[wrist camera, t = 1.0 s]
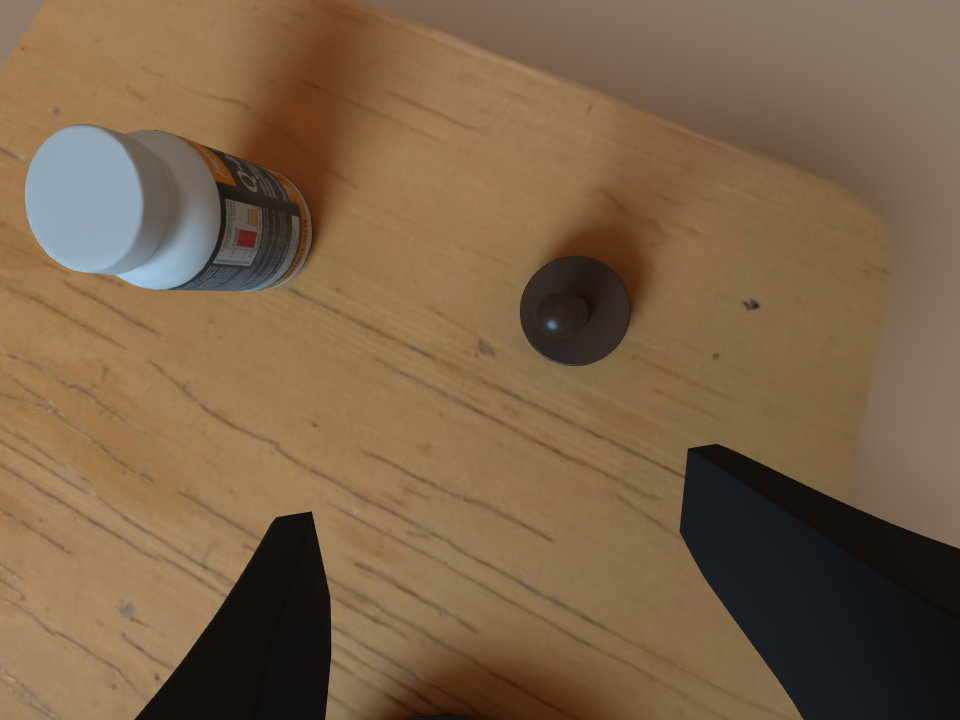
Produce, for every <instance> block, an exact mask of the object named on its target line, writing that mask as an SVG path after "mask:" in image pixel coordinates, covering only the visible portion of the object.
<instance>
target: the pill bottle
mask: <svg viewBox="0 0 960 720" xmlns="http://www.w3.org/2000/svg"><path fill="white" fill-rule="evenodd" d="M25 204H26V212H27V216H28V220H29V224H30V226H31V229H32V232H33V233H34V236H35V237H36V239H37V241H38V242H39V244H40V245H41V246H42V248H43V249H44V250H45V251H46V253H47V254H48V255H49V256H50V257H52V258H53V259H54V260H56V261H57V262H58V263H60V264H61V265H63V266H65V267H67V268H69V269H72V270H76V271H80V272H88V273H99V274H111V275H113V274H115V275H117V276H118V277H120V278H121V279H123V280H125V281H127V282H129V283H131V284H133V285H136V286H139V287H143V288H147V289H152V290H210V291H263V290H269V289H273V288H276V287H278V286H281V285H283V284H284V283H286V282H287V281H289V280H290V279H291V278H292V277H293V276H295V274H296V273H297V272H298V271H299V270H300V269H301V267H302V266H303V264H304V262H305V260H306V257H307V255H308V253H309V250H310V245H311V241H312V227H311V215H310V212H309V209H308V206H307V204H306V202H305V200H304V198H303V196H302V195H301V193H300V192H299V190H298V189H297V188H296V186H295V185H294V184H293V183H292V182H291V181H289V180H288V179H287V178H286V177H284V176H282V175H281V174H279V173H277V172H275V171H273V170H271V169H268V168H265V167H263V166H260V165H257V164H254V163H251V162H248V161H246V160H243V159H240V158H237V157H235V156H232V155H229V154H226V153H224V152H221V151H218V150H216V149H213V148H209V147H206V146H203V145H201V144H198V143H195V142H193V141H190V140H188V139H186V138H183V137H180V136H177V135H174V134H171V133H167V132H164V131H158V130H142V131H135V132H130V133H127V134H123V133H120V132H117V131H113V130H110V129H107V128H104V127H100V126H96V125H90V124H77V125H71V126H68V127H65V128H62V129H60V130H58V131H57V132H55V133H54V134H52V135H51V136H50V137H49V138H47V139H46V140H45V141H44V142H43V144H42V145H41V146H40V148H39V149H38V151H37V152H36V154H35V156H34V158H33V159H32V162H31V164H30V167H29V170H28V173H27V177H26V186H25Z"/></svg>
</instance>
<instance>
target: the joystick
mask: <svg viewBox="0 0 960 720" xmlns="http://www.w3.org/2000/svg"><path fill="white" fill-rule="evenodd" d="M520 319H521V325H522V328H523V331H524V333H525V336H526V338H527V339H528V341H529V343H530V344H531V345H532V346H533V348H534V349H535V350H536V351H537V352H538V353H540V354H541V355H542V356H544V357H545V358H547V359H549V360H550V361H553V362H555V363H558V364H562V365H567V366H582V365H588V364H591V363H594V362H597V361H599V360H601V359H603V358H604V357H606V356H607V355H609V354H610V353H611V352H612V351H613V350H614V349H615V348H616V347H617V346H618V345H619V343H620V342H621V341H622V339H623V337H624V336H625V333H626V331H627V329H628V325H629V321H630V300H629V296H628V292H627V290H626V288H625V285H624V284H623V282H622V280H621V279H620V278H619V276H618V275H617V274H616V273H615V272H614V271H613V270H612V269H611V268H609V267H608V266H607V265H605V264H603V263H602V262H600V261H597V260H595V259H592V258H588V257H582V256H569V257H563V258H560V259H556V260H554V261H552V262H550V263H548V264H546V265H545V266H543V267H542V268H541V269H540V270H538V271H537V272H536V273H535V274H534V275H533V277H532V278H531V279H530V281H529V282H528V284H527V286H526V287H525V290H524V292H523V295H522V299H521V304H520Z"/></svg>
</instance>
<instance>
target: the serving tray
mask: <svg viewBox="0 0 960 720" xmlns="http://www.w3.org/2000/svg"><path fill="white" fill-rule="evenodd" d="M408 720H473V719H470V718H466V717H415V718H410V719H408Z"/></svg>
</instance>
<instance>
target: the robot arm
mask: <svg viewBox="0 0 960 720" xmlns="http://www.w3.org/2000/svg"><path fill="white" fill-rule="evenodd" d="M680 533H681V535H682V537H683V539H684V541H685V543H686V545H687V547H688V549H689V551H690V553H691V555H692V556H693V558H694V560H695V562H696V564H697V565H698V567H699V569H700V571H701V572H702V574H703V576H704V578H705V579H706V581H707V582H708V583H709V585H710V586H711V588H712V589H713V591H714V592H715V593H716V595H717V596H718V598H719V599H720V600H721V602H722V603H723V605H724V606H725V607H726V609H727V610H728V612H729V613H730V614H731V616H732V617H733V618H734V620H735V621H736V623H737V624H738V625H739V627H740V628H741V629H742V631H743V632H744V634H745V635H746V636H747V638H748V639H749V640H750V642H751V643H752V645H753V646H754V647H755V649H756V650H757V651H758V653H759V654H760V656H761V657H762V658H763V660H764V661H765V662H766V664H767V665H768V666H769V668H770V669H771V671H772V672H773V673H774V675H775V676H776V677H777V679H778V680H779V682H780V683H781V685H782V686H783V688H784V689H785V691H786V692H787V694H788V695H789V697H790V698H791V700H792V701H793V703H794V704H795V706H796V708H797V709H798V711H799V713H800V714H801V716H802V718H803V719H804V720H960V549H958V548H955V547H953V546H950V545H947V544H945V543H941V542H939V541H936V540H933V539H930V538H928V537H925V536H922V535H920V534H917V533H914V532H912V531H909V530H906V529H904V528H901V527H899V526H896V525H893V524H891V523H889V522H887V521H884V520H882V519H879V518H877V517H875V516H872V515H870V514H868V513H865V512H863V511H861V510H858V509H856V508H854V507H851V506H849V505H847V504H845V503H843V502H840V501H838V500H836V499H834V498H832V497H829V496H827V495H825V494H823V493H821V492H819V491H817V490H814V489H812V488H810V487H808V486H806V485H804V484H802V483H800V482H798V481H796V480H794V479H792V478H790V477H787V476H785V475H783V474H781V473H779V472H777V471H775V470H773V469H771V468H769V467H767V466H765V465H763V464H761V463H759V462H757V461H755V460H752V459H750V458H748V457H746V456H744V455H742V454H740V453H738V452H735V451H733V450H731V449H729V448H726V447H724V446H721V445H719V444H712V445H706V446H700V447H694V448H688V453H687V463H686V473H685V483H684V493H683V503H682V513H681V523H680ZM330 662H331V604H330V594H329V589H328V584H327V580H326V575H325V571H324V566H323V561H322V557H321V552H320V547H319V543H318V538H317V533H316V529H315V524H314V519H313V515H312V511H311V512H305V513H299V514H293V515H287V516H281V517H276V519H275V520H274V521H273V522H272V523H271V525H270V527H269V529H268V530H267V532H266V534H265V536H264V537H263V539H262V541H261V543H260V544H259V546H258V548H257V550H256V551H255V553H254V555H253V557H252V558H251V560H250V562H249V563H248V565H247V566H246V568H245V570H244V571H243V573H242V575H241V576H240V578H239V579H238V581H237V583H236V584H235V586H234V587H233V589H232V590H231V592H230V593H229V595H228V596H227V598H226V600H225V601H224V603H223V604H222V606H221V607H220V609H219V610H218V612H217V613H216V615H215V616H214V618H213V619H212V621H211V622H210V623H209V625H208V626H207V627H206V629H205V630H204V632H203V633H202V634H201V636H200V637H199V639H198V640H197V641H196V643H195V644H194V645H193V647H192V648H191V650H190V651H189V652H188V654H187V655H186V657H185V658H184V659H183V661H182V662H181V663H180V664H179V666H178V667H177V668H176V670H175V671H174V672H173V673H172V675H171V676H170V677H169V679H168V680H167V681H166V682H165V684H164V685H163V686H162V687H161V688H160V690H159V691H158V692H157V693H156V695H155V696H154V697H153V698H152V699H151V701H150V702H149V703H148V704H147V705H146V706H145V708H144V709H143V710H142V711H141V712H140V714H139V715H138V716H137V717H136V718H135V719H134V720H325V716H326V706H327V695H328V684H329V674H330Z"/></svg>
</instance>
